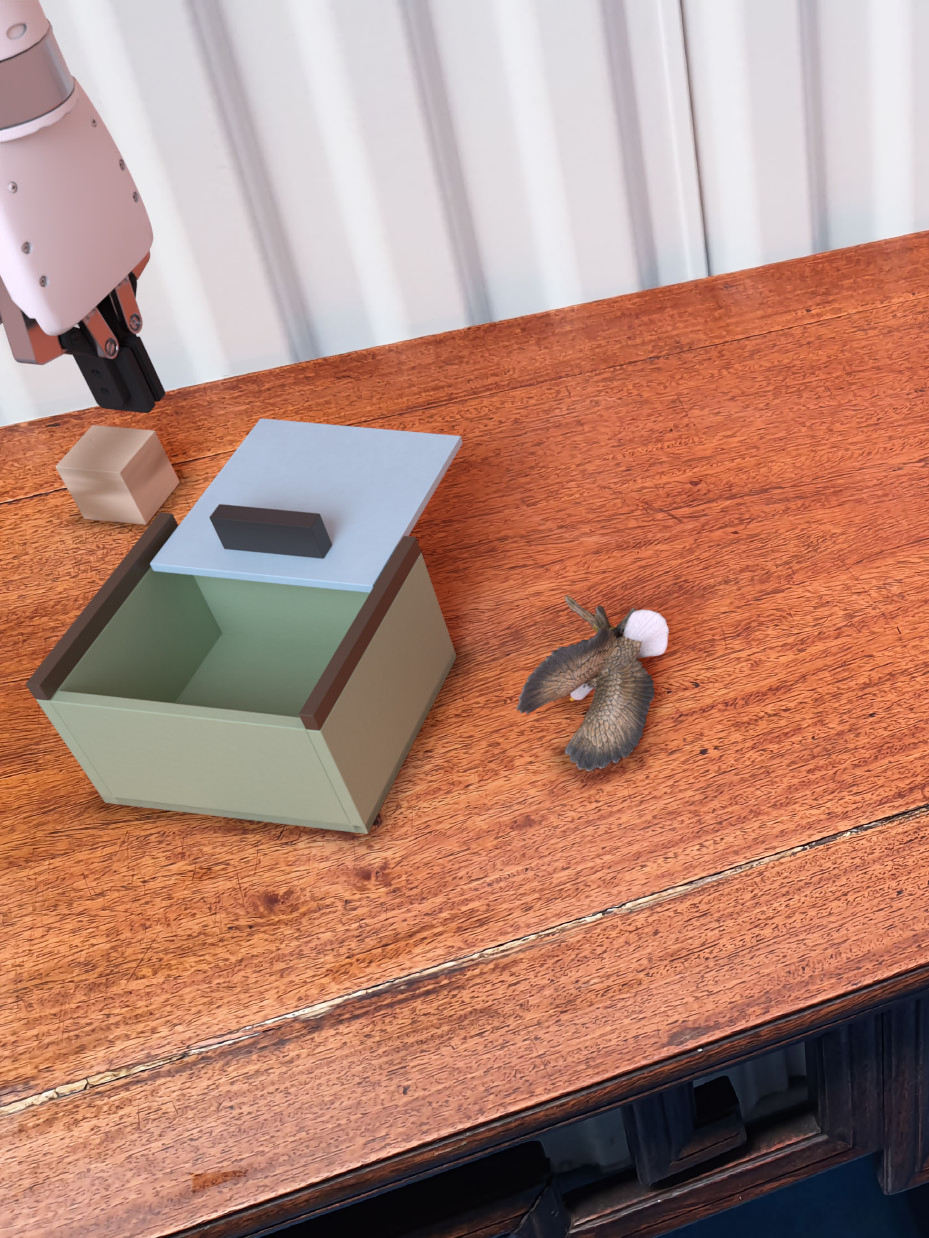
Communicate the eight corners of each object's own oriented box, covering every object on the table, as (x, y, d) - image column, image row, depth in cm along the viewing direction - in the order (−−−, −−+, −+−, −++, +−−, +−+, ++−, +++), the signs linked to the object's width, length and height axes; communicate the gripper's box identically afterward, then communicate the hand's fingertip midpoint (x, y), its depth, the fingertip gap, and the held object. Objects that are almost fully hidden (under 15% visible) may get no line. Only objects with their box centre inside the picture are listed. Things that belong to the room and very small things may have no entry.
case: (104, 803, 79) (24, 684, 71) (220, 632, 88) (159, 511, 81) (368, 834, 77) (312, 716, 70) (457, 656, 86) (416, 536, 79)
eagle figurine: (537, 638, 86) (489, 730, 79) (588, 559, 82) (543, 648, 75) (645, 698, 88) (609, 793, 81) (700, 624, 84) (667, 716, 77)
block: (83, 519, 96) (54, 466, 92) (119, 476, 99) (92, 424, 96) (146, 525, 95) (119, 472, 92) (180, 482, 98) (155, 430, 95)
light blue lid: (153, 571, 79) (132, 531, 77) (263, 425, 88) (247, 386, 86) (375, 593, 78) (360, 554, 76) (463, 443, 87) (451, 404, 85)
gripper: (1, 10, 70) (142, 322, 83) (-208, 149, 60) (-10, 480, 73) (140, 20, 69) (260, 333, 83) (-48, 163, 59) (123, 495, 72)
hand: (133, 401), depth 78 cm, fingers closed
